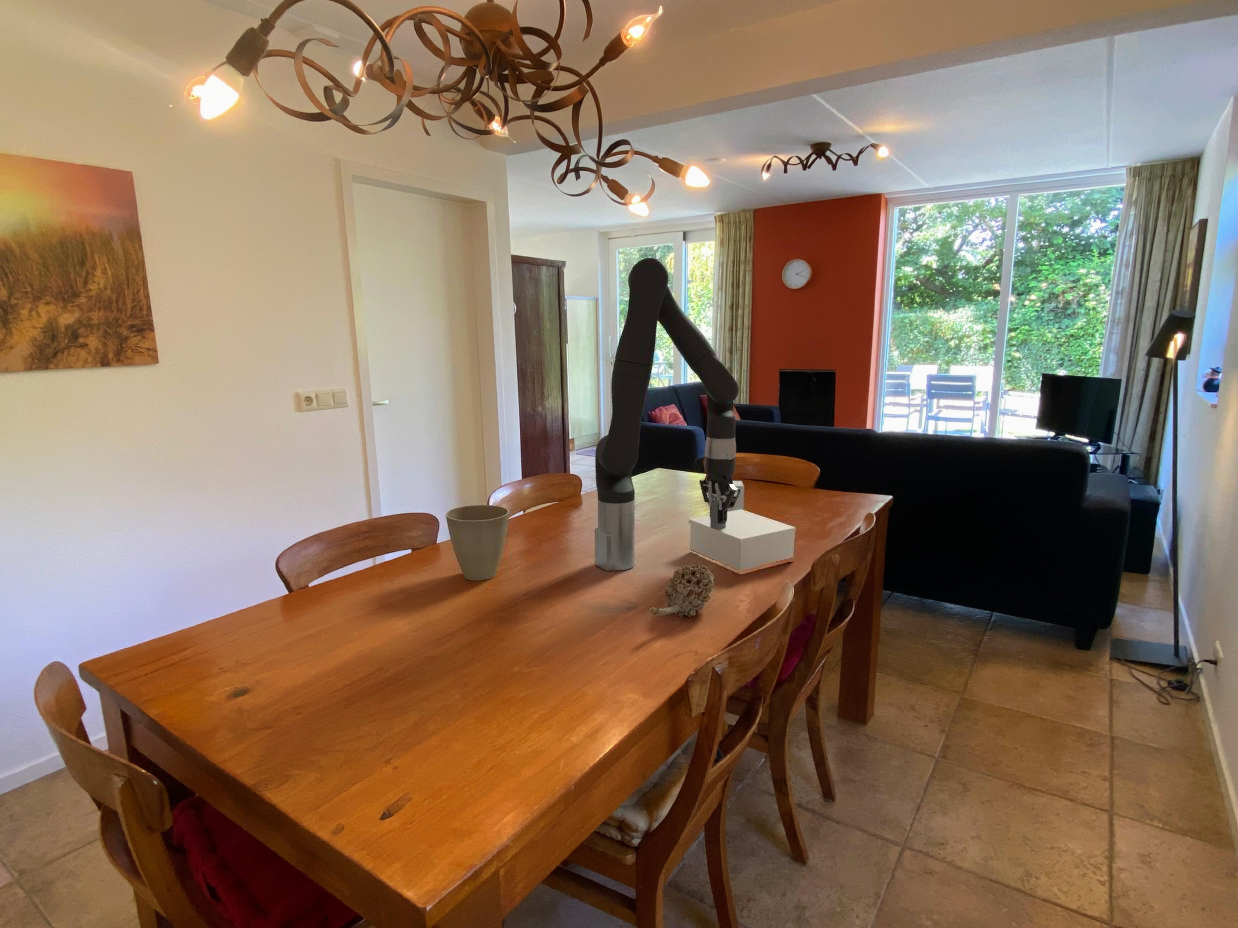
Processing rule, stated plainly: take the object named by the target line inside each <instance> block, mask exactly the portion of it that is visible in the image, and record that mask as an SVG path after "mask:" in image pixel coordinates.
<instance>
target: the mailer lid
mask: <svg viewBox="0 0 1238 928" xmlns="http://www.w3.org/2000/svg"><path fill="white" fill-rule="evenodd" d="M723 504H724V500H723ZM718 510H719V505H718V500H713V501H711V520H710V514H708V515H703V516H698V517H693V518H688V524H690V525H691V524H692V525H694V526H697V527H699V528H702V529H704V530H707V531H709V532H712V533H714V534H717V535H719V536H722V537H724V538H727V539H729V540H732V541H734V542H737V543H739V544H743V543H748V542H752V541H757V540H762V539H766V538H771V537H775V536H780V535H784V534H789V533H794V532H795V533H796V530H797V528H796V526H792V525H789V524H786V523H783V522H780V521H777V520H774V519H771V518H768V517H765V516H762V515H759V514H756V513H753V512H750V511H747V510H744V509H743V510H742V509H740V510H735V511H729V512H727V521H726V523H724V524H719V523H718Z"/></svg>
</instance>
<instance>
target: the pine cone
mask: <svg viewBox="0 0 1238 928" xmlns="http://www.w3.org/2000/svg"><path fill="white" fill-rule="evenodd" d="M714 578H715V575H714V574H712V571H710V569H708V566H705V565H703V564H702V563H700V564H699V565H697V566H695V563H693V565H692V564H690V565H687V564H684V565H683V567H682V568H681V567H679V566H678V568H676V570H673V575H672V577H670V578H669V581H668V585H669V586H668V587H664V588H663V595H664V597H666V599H665V600H664V603H665V604H666V605H667V607H665V608H659V607H650V608H649V609H648V611H649V612H648V614H649V615H653V616H666V615H671V614H673V613H675V615H676V616H677V617H678V616H679V617H680V616H682V617H683V615H686V616H688V617H689V618H691V617H692V616H695V615H696V611H702V610H703V608H704V606H705V603H709V600H711V596H710V594H712V592H714V589H715V587H714V586H715V585H714Z"/></svg>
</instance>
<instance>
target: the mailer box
mask: <svg viewBox="0 0 1238 928" xmlns="http://www.w3.org/2000/svg"><path fill="white" fill-rule="evenodd" d="M689 527H690V533H689V535H690V537H689V539H690V540H689V551H690V550H691V551H693V552H696V553H698V554H701V555H703V556H705V557H708V558H710V559H712V560H715V561H718V562H720V563H722V564H724V565H726V566H729V567H731V568H733V569H735V570H739V571H743V570H747V569H751V568H755V567H758V566H761V565H764V564H769V563H772V562H776V561H780V560H784V559H788V558H791V557H793V558H794V555H795V554H794V553H795V535H796V532H794V533H789V534H784V535H780V536H775V537H771V538H766V539H762V540H757V541H752V542H748V543H743V544H739V543H737V542H734V541H732V540H729V539H727V538H724V537H722V536H719V535H717V534H714V533H712V532H709V531H707V530H704V529H702V528H699V527H697V526H694V525H692V524H690V526H689Z"/></svg>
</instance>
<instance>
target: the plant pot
mask: <svg viewBox="0 0 1238 928" xmlns="http://www.w3.org/2000/svg"><path fill="white" fill-rule="evenodd" d="M509 515H510V510H509V509H508V508H507V507H504V506H500V505H493V504H492V505H491V504H471V505H464V506H459V507H454V508H451V509H449V510H447V512H445V518H446V519H445V520H446V523H447V524H446V525H447V528H448V529H447V530H448V533H449V538H450V541H451V545H452V548H453V551H454V555H455V559H456V561H457V563H458V565H459V568H460V571H461V573H462V574H463V576H464V578H465V579H467V580H468V581H487V580H490V579H492V578H494V577H495V576H496V573H497V570H498V568H499V565H500V561H501V558H502V555H503V552H504V547H505V542H506V537H507V534H508V527H509V518H510V517H509Z"/></svg>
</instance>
